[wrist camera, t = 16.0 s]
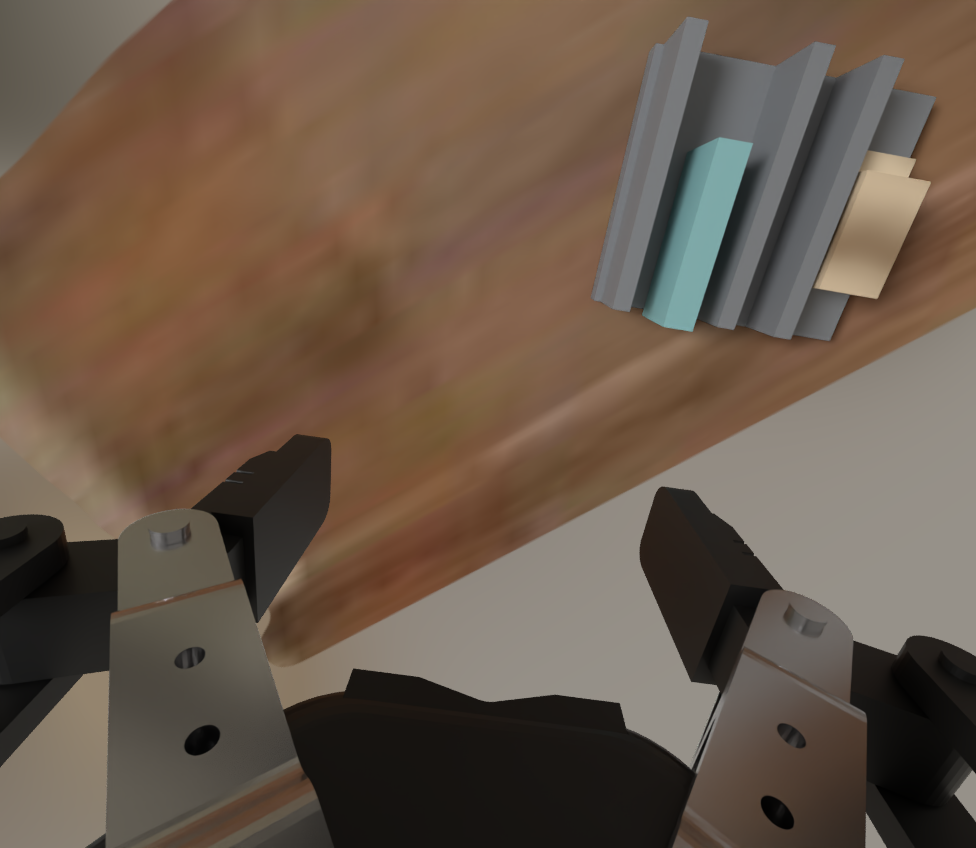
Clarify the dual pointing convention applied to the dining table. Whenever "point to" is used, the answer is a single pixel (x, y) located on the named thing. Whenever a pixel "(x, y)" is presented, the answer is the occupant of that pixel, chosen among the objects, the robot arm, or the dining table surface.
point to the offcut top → (870, 233)
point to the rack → (754, 175)
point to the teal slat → (695, 231)
